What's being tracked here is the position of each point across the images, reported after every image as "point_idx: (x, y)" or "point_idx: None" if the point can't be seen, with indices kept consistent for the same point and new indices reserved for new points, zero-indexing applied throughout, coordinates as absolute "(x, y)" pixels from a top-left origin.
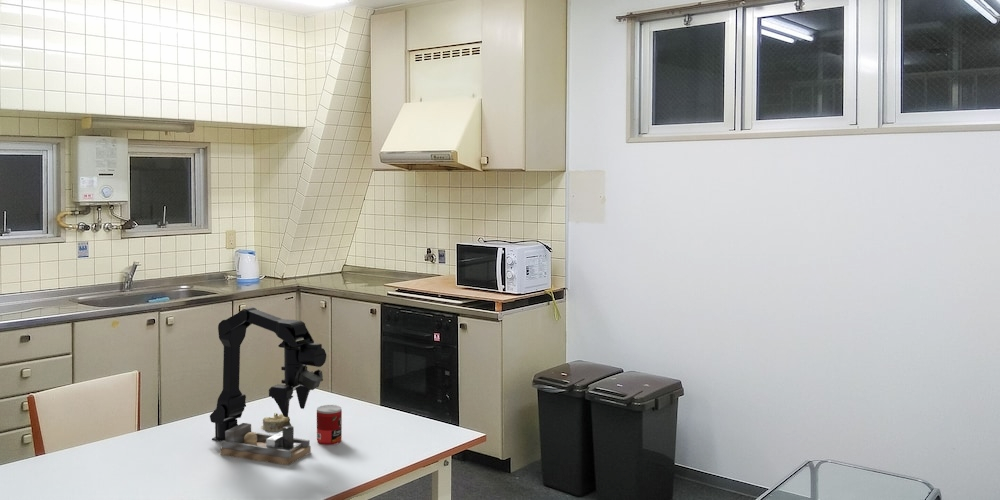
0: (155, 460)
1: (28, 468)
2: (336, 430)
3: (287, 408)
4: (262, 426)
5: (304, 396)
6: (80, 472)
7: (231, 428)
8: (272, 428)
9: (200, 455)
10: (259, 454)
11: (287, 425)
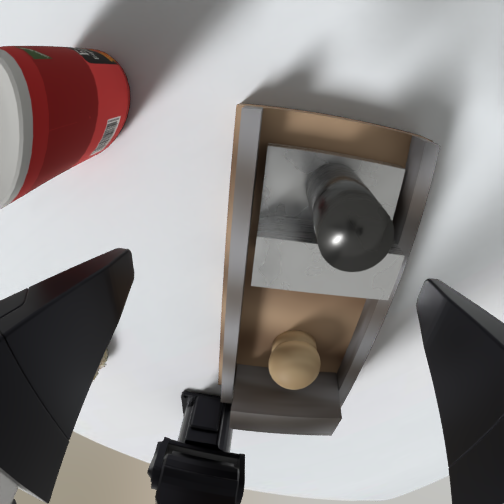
0: (380, 441)
1: (401, 490)
2: (71, 49)
3: (502, 325)
4: None
5: (50, 328)
6: (424, 464)
7: (299, 433)
8: None
9: (347, 407)
10: None
11: None
